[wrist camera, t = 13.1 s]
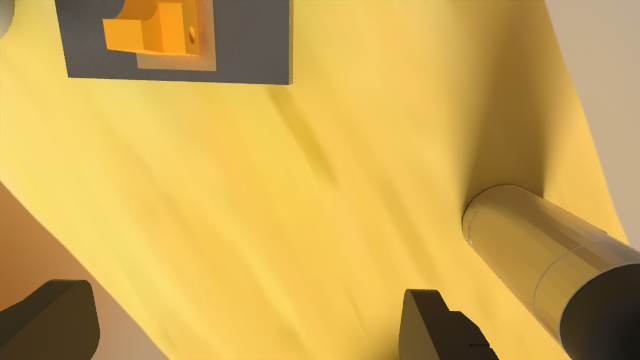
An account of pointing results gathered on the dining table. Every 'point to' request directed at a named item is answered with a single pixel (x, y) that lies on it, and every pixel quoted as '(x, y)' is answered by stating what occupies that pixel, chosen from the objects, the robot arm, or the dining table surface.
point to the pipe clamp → (154, 28)
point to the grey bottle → (6, 15)
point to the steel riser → (210, 66)
